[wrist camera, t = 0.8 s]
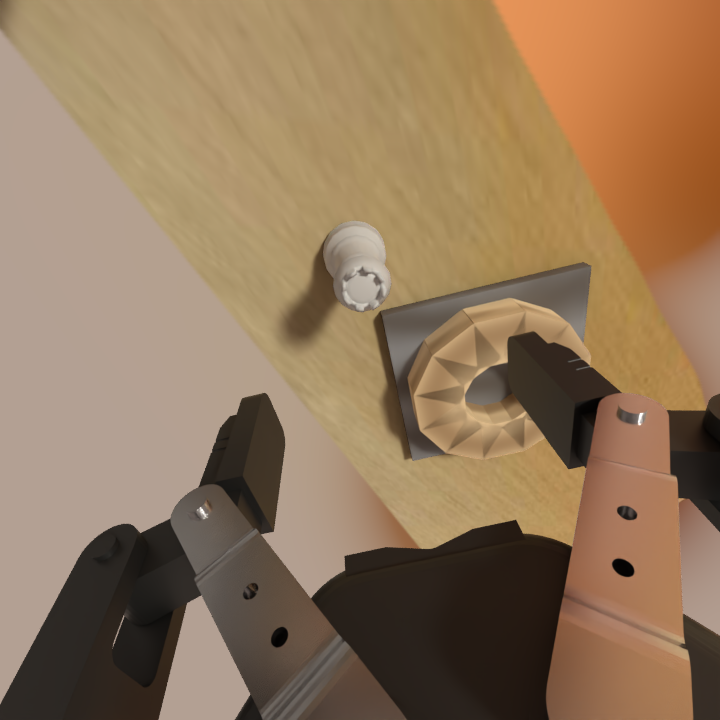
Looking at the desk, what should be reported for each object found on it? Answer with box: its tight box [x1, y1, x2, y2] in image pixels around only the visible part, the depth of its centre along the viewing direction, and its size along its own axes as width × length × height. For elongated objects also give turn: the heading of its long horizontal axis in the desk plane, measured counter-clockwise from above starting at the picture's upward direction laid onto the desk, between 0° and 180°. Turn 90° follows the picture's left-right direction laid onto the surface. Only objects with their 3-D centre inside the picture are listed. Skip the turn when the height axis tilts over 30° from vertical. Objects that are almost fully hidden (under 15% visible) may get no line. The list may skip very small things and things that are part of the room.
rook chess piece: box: [323, 221, 391, 312], centre depth 24 cm, size 4×4×8 cm
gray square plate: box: [381, 262, 591, 461], centre depth 32 cm, size 16×16×4 cm
